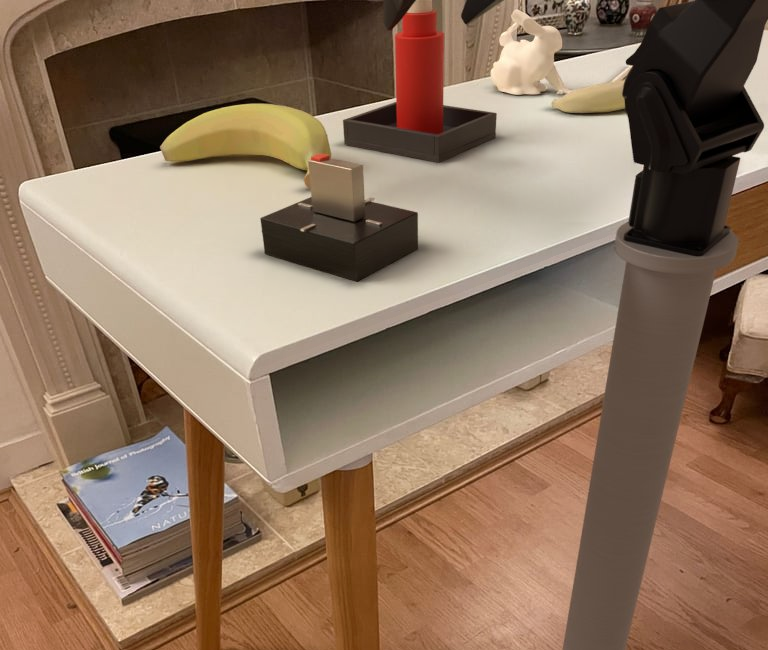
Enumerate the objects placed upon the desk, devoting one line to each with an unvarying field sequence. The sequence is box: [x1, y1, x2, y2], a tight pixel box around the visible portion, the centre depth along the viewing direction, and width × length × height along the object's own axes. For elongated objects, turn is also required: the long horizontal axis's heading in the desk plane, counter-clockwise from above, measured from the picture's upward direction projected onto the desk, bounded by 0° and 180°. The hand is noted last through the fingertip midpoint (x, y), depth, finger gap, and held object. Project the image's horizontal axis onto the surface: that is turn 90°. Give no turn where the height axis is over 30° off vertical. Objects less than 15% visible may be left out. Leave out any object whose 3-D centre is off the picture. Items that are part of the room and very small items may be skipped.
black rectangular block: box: [259, 196, 419, 282], centre depth 65 cm, size 10×9×3 cm
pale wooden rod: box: [610, 65, 633, 82], centre depth 110 cm, size 1×19×1 cm, turn 153°
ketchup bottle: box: [394, 0, 445, 135], centre depth 86 cm, size 5×5×14 cm
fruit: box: [550, 79, 625, 114], centre depth 99 cm, size 7×15×3 cm, turn 117°
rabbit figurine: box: [490, 9, 574, 96], centre depth 104 cm, size 12×8×10 cm, turn 46°
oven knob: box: [308, 153, 366, 222], centre depth 63 cm, size 4×1×4 cm, turn 52°
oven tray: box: [342, 101, 498, 163], centre depth 90 cm, size 13×11×3 cm
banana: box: [159, 103, 332, 190], centre depth 83 cm, size 14×6×20 cm
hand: (426, 23), depth 75 cm, fingers open, 9 cm apart
